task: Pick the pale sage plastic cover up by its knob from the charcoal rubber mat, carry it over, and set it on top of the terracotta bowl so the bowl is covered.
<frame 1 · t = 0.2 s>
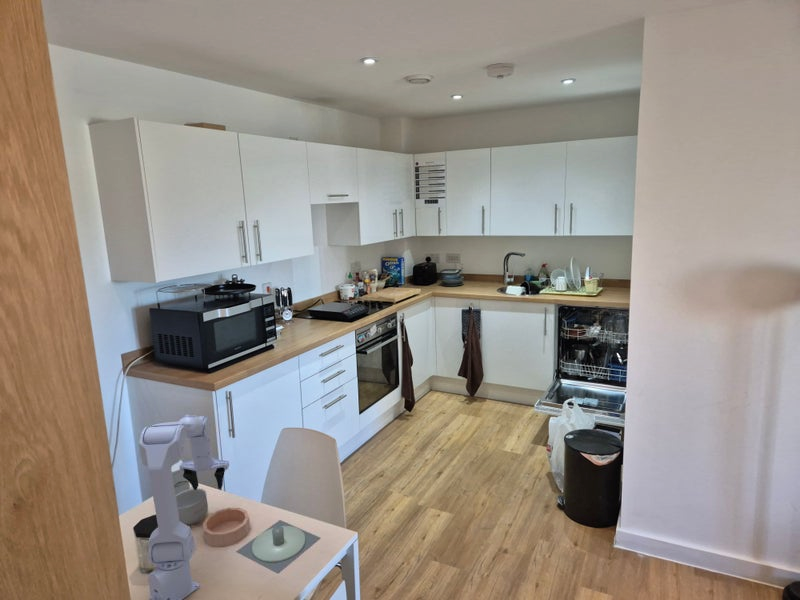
hand: (208, 487, 162), 10 cm above the table, tool pointing down, fingers open, 7 cm apart
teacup: (193, 517, 165), on the table
supplement box: (177, 500, 174), on the table
cover: (279, 544, 149), point 1 cm above the table, touching mat
bowl: (227, 533, 156), on the table
mat: (279, 546, 149), on the table
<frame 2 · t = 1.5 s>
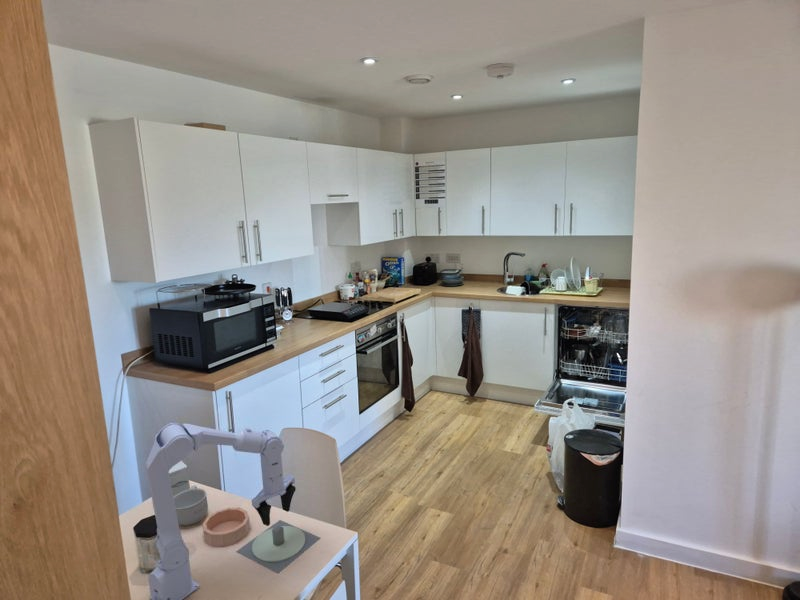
hand: (276, 517, 147), 9 cm above the table, tool pointing down, fingers open, 7 cm apart
nothing on the table moved.
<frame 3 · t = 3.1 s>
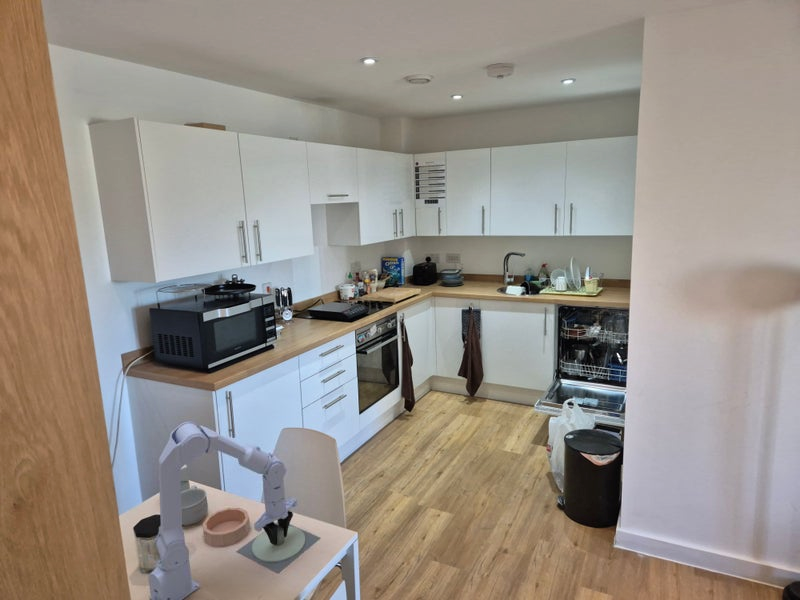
hand: (278, 539, 149), 2 cm above the table, tool pointing down, fingers closed on cover, 3 cm apart
cover: (279, 544, 149), point 1 cm above the table, touching gripper, mat
everything else where it was.
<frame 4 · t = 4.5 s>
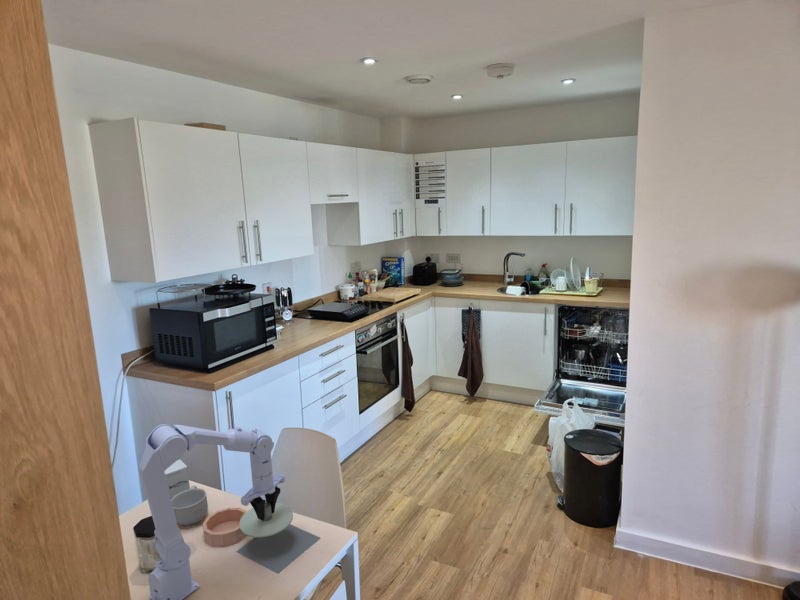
hand: (266, 515, 148), 9 cm above the table, tool pointing down, fingers closed on cover, 3 cm apart
cover: (266, 520, 149), point 8 cm above the table, touching gripper
everything else where it was.
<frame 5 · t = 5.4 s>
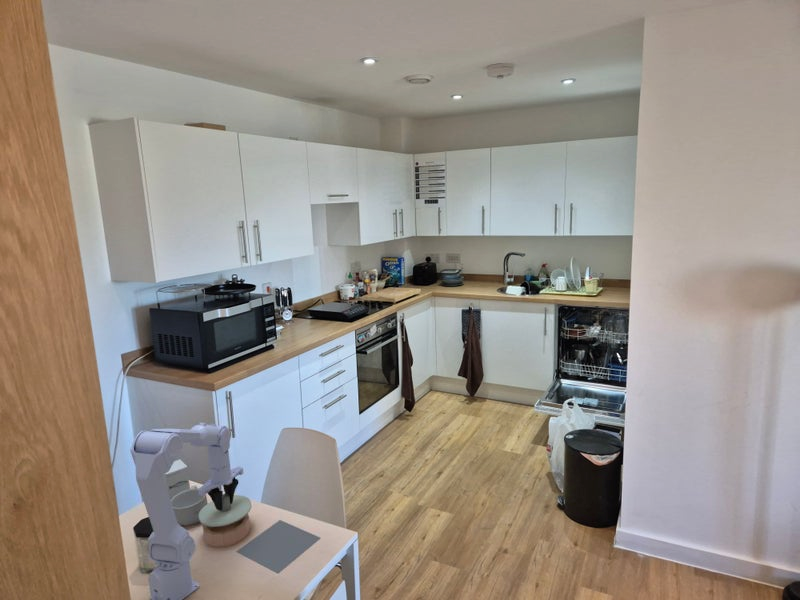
hand: (224, 506, 154), 9 cm above the table, tool pointing down, fingers closed on cover, 3 cm apart
cover: (225, 511, 154), point 8 cm above the table, touching gripper
everything else where it was.
when the fingers open (7 cm above the table, at t = 6.0 s): cover drops 1 cm, resting on bowl.
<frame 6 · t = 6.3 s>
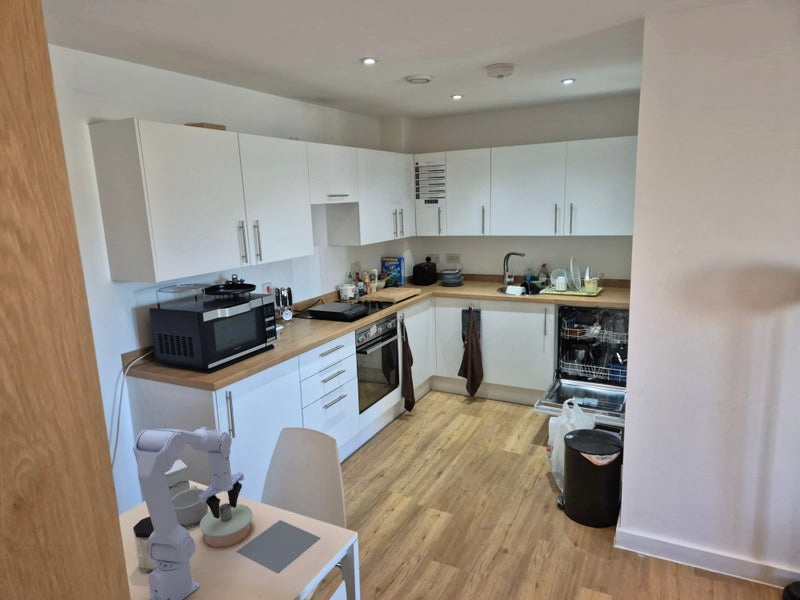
hand: (225, 511, 154), 7 cm above the table, tool pointing down, fingers open, 5 cm apart
cover: (226, 520, 155), point 4 cm above the table, touching bowl
everything else where it was.
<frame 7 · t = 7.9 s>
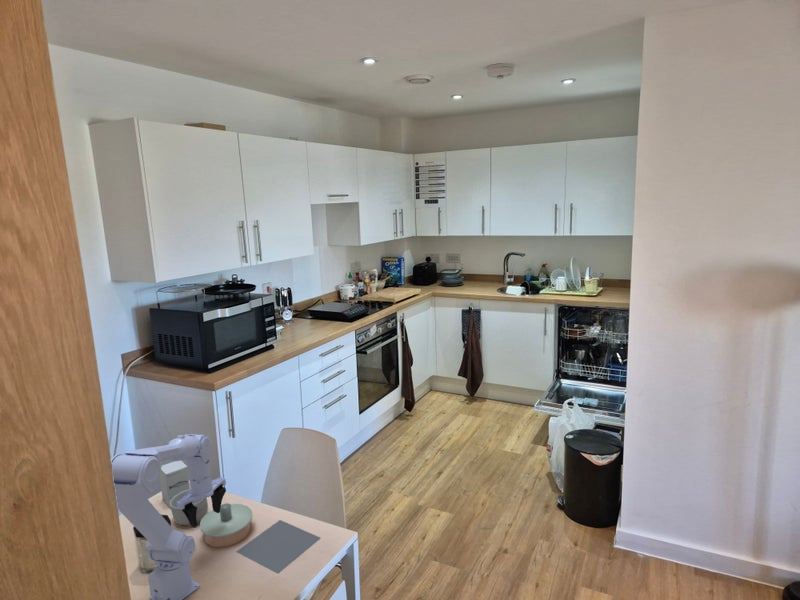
hand: (205, 518, 146), 10 cm above the table, tool pointing down, fingers open, 7 cm apart
nothing on the table moved.
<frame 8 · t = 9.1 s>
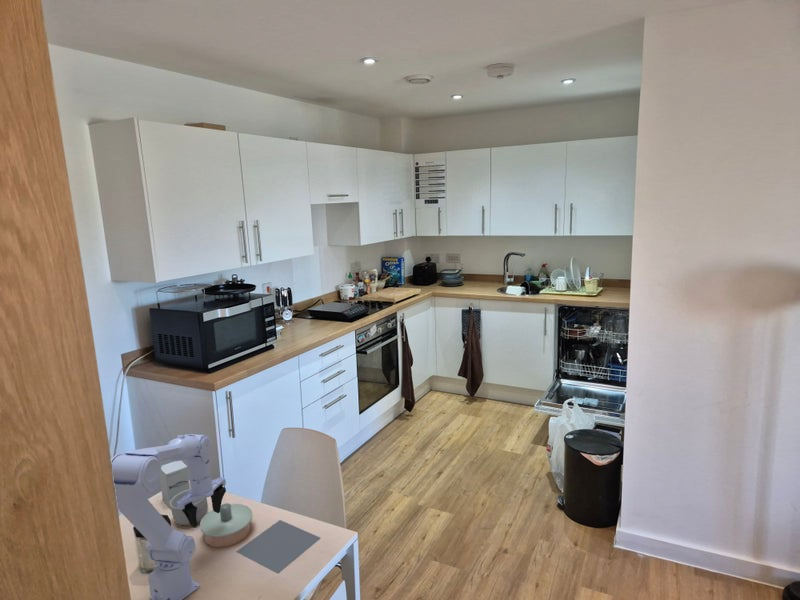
hand: (205, 518, 146), 10 cm above the table, tool pointing down, fingers open, 7 cm apart
nothing on the table moved.
at the end: cover 0.3 cm off-centre on the bowl, point 4.5 cm above the bowl's base; cover tilted 0°; the gripper is holding nothing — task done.
